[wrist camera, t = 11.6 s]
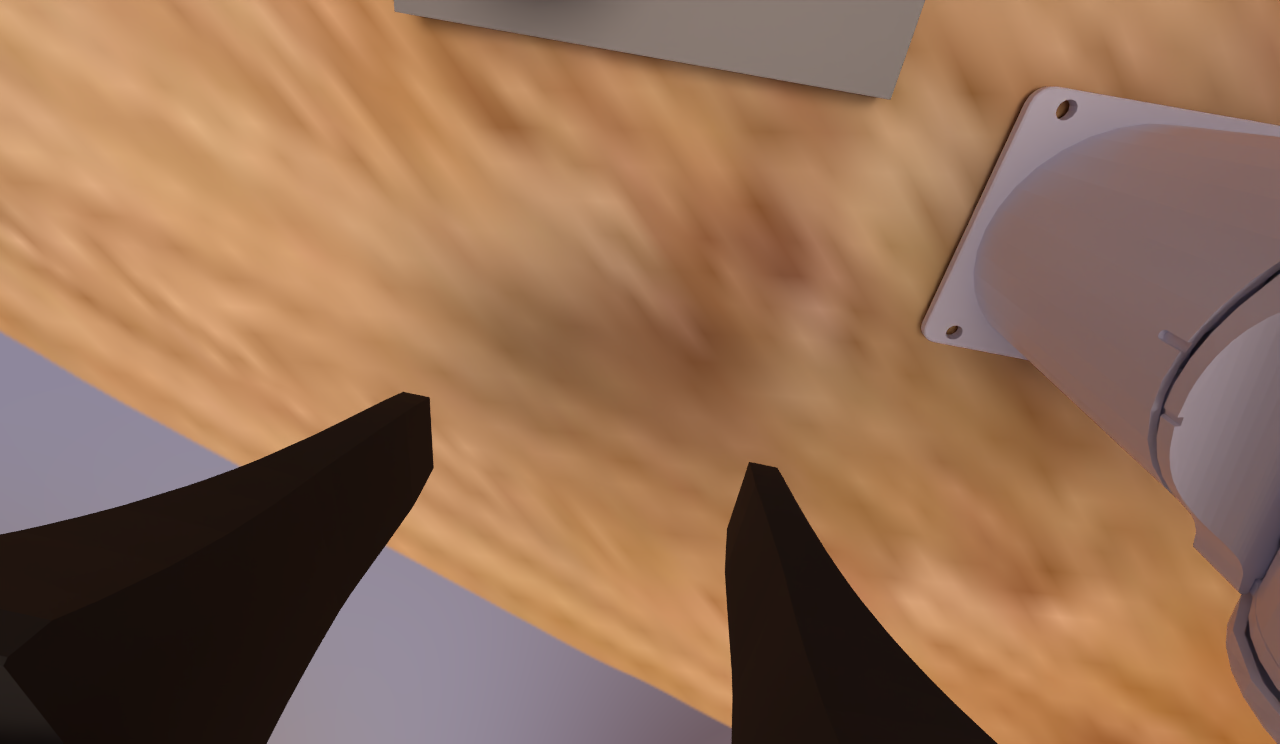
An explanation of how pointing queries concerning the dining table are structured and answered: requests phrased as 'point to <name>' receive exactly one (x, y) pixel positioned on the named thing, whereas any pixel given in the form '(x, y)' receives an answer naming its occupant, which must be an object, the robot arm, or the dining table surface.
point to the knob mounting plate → (719, 33)
